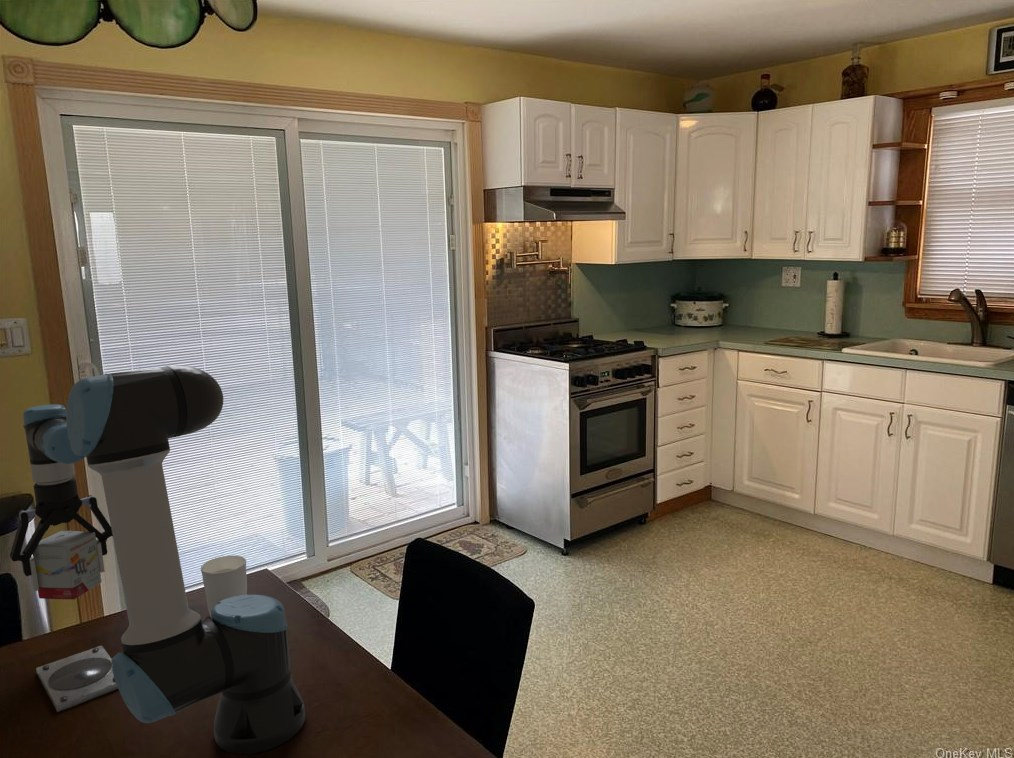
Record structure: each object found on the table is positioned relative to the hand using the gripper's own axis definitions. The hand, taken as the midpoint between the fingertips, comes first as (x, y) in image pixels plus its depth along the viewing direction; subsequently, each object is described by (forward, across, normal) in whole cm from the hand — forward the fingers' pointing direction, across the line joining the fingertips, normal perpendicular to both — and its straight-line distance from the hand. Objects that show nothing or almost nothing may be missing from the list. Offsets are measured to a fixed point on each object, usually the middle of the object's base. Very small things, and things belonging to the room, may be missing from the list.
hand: (69, 579), depth 155 cm
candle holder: (+16, -29, +8) cm, 34 cm away
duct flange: (+16, +3, +14) cm, 21 cm away
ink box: (+2, 0, 0) cm, 3 cm away
